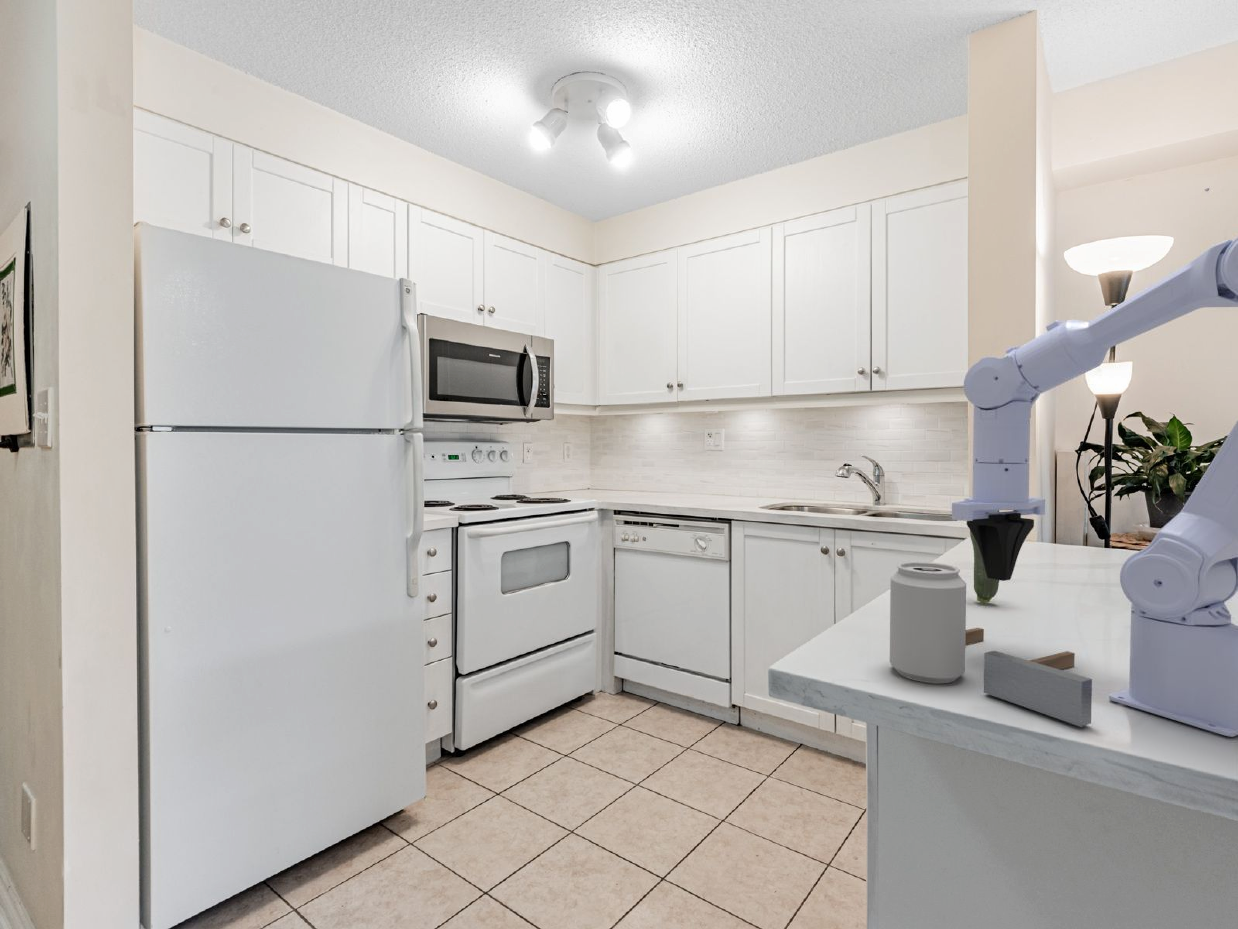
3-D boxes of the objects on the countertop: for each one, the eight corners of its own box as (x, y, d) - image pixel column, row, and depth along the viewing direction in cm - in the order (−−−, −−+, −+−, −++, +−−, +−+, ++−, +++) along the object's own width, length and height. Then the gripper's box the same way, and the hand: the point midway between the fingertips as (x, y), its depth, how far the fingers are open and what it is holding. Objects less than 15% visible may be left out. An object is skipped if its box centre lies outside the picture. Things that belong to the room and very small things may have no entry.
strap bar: (1091, 723, 58) (1092, 679, 58) (1080, 727, 58) (1081, 682, 58) (993, 689, 66) (994, 650, 66) (983, 692, 66) (984, 653, 66)
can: (960, 667, 74) (962, 561, 74) (969, 690, 67) (970, 574, 67) (889, 659, 77) (890, 557, 76) (889, 681, 70) (891, 569, 69)
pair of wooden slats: (1074, 666, 74) (1074, 653, 74) (1000, 686, 68) (1000, 672, 68) (977, 639, 85) (977, 627, 85) (905, 654, 78) (905, 642, 78)
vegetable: (1005, 608, 100) (1007, 477, 100) (976, 607, 101) (979, 477, 100) (989, 601, 105) (991, 476, 104) (962, 601, 105) (964, 476, 104)
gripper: (1005, 461, 83) (1003, 567, 84) (928, 463, 77) (927, 578, 77) (1064, 462, 77) (1062, 577, 77) (986, 464, 70) (984, 590, 71)
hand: (998, 578), depth 77 cm, fingers closed
